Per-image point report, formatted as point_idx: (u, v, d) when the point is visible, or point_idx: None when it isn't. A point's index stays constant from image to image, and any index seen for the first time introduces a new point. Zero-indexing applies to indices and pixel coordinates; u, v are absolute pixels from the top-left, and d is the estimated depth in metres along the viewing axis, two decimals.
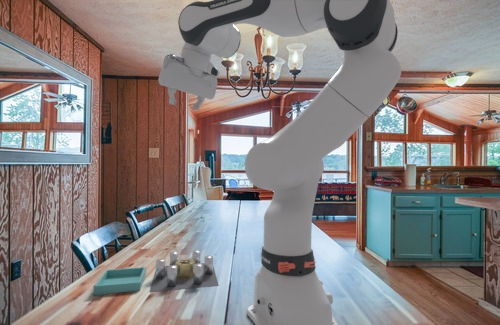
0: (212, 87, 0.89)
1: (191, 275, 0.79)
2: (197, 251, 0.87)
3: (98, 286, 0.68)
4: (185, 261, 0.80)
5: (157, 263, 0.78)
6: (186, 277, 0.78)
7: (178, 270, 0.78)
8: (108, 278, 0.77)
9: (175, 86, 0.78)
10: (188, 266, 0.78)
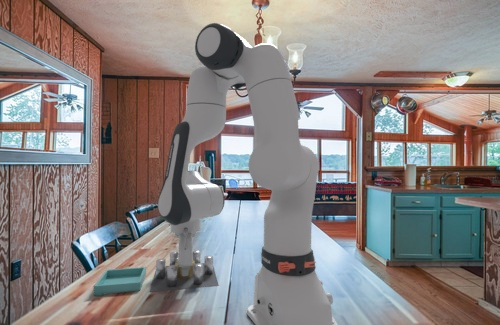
0: None
1: (191, 275, 0.79)
2: (197, 251, 0.87)
3: (98, 286, 0.68)
4: None
5: (157, 263, 0.78)
6: (186, 277, 0.78)
7: (178, 270, 0.78)
8: (108, 278, 0.77)
9: None
10: None
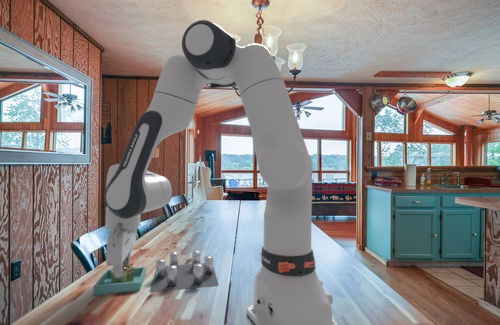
0: (135, 231, 0.83)
1: None
2: (197, 251, 0.87)
3: (98, 286, 0.68)
4: (122, 267, 0.75)
5: (157, 263, 0.78)
6: None
7: (113, 277, 0.72)
8: (108, 278, 0.77)
9: (124, 257, 0.69)
10: (124, 273, 0.72)
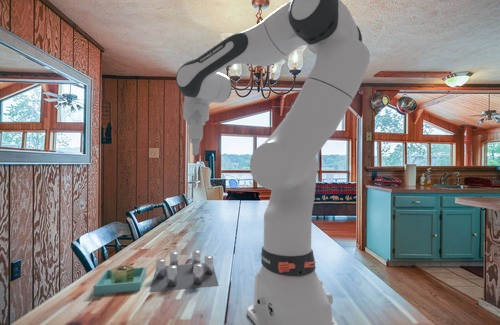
0: None
1: None
2: (197, 251, 0.87)
3: (98, 286, 0.68)
4: (122, 267, 0.75)
5: (157, 263, 0.78)
6: None
7: (113, 277, 0.72)
8: (108, 278, 0.77)
9: None
10: (124, 273, 0.72)
